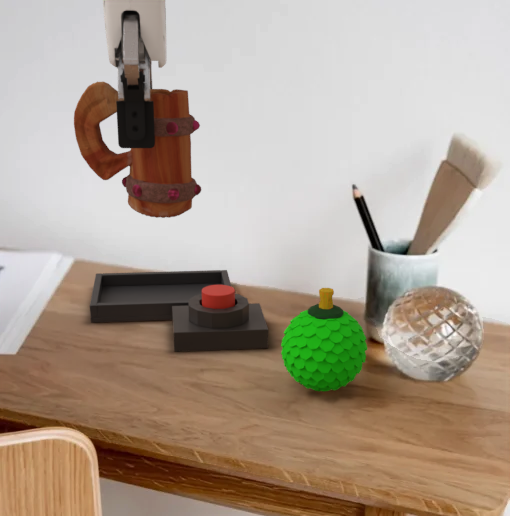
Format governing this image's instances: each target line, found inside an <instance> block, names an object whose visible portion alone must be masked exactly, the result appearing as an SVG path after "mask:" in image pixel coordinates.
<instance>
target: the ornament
mask: <svg viewBox="0 0 510 516" xmlns="http://www.w3.org/2000/svg"><path fill="white" fill-rule="evenodd" d="M334 294H335V291H334V288H331V287H321V288H320V289H318V295H319V302H318V303H316V304H314V305H312V306H310V307H309V308H308V309H306V310H303V311H301V312H299V314H298V315H296V316H294V317H293V318H292V319H291V320H290V321H289V323H290V324H288V326H287V327H286V328H285V330H284V331H283V335H284V336H283V337H282V338H281V343H280V344H281V345H280V347H281V352H280V354H281V357H282V358H281V359H282V360H283V366H284V367H285V369H286V371H287V372H288V373H289V375H290V377H291V378H293V380H294V381H295V382H296V383H299V384H300V385H301V386H303V387H304V388H306V389H307V390H309V389H311V390H313V391H315V392H329V391H337V390H339V389H340V388H342V387H344V388H345V387H346V386H347V385H348V384H349V383H351V382H353V381H355V378H356V376H357V375H359V374H360V373H361V371H362V369H363V364H364V363H365V364H366V358H367V354H366V351H368V344H367V342H366V341H367V337H366V335H365V331H364V330H363V327H362V325H360V323H359V321H358V320H356V318H354V317H353V316H352V315H351V314H349V312H348V311H346V310H344V309H342V308H341V307H340V306H338V305H336V304H334V301H333V296H334Z"/></svg>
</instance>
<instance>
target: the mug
mask: <svg viewBox="0 0 510 516" xmlns="http://www.w3.org/2000/svg"><path fill="white" fill-rule="evenodd" d="M77 101H78V102H77V104H76V106H75V109H74V111H73V112H74V114H73V127H74V135H75V140H76V143H77V146H78V149H79V152H80V155H81V156H82V158H83V160H84V161H85V163H86V164H87V165H88V167H89V168H90V169H91V170H92V171H93V172H94V173H95V174H96V176H98V178H100V179H101V180H103V181H109V180H110V179H112V178H113V177H114V176H116V175H117V174H119V173H120V172H121V171H123V170H124V169H126V168H128V167H129V173H128V175H126V176H124V177H123V178H122V179H121V184H122V186H123V187H124V188H125V191H126V193H127V205H128V206H129V207H130V208H131V209H132V210H133V211H135V212H137V213H138V214H141V215H142V216H143V215H144V216H146V217H151V218H157V219H158V218H161V219H165V218H175V217H178V216H180V215H182V214H184V213H186V212H188V211H190V210H191V209H192V207H193V200H194V198H195V197H196V196H199V194H200V193H201V192H202V187H201V185H200V184H198V183H197V181H196V179H195V178H194V177H192V139H191V135H193V133H194V132H196V131H198V130H200V126H201V125H200V122H199V121H198V120H196V119H195V116H193V115H192V114H191V113H190V104H189V91H188V90H186V89H172V90H171V91H170V90H169V89H166V88H152V89H150V101H153V103H154V133H155V145H154V147H153V148H130V150H128V151H125V152H121V153H116V152H114V151H113V150H111V149H110V148H109V147H108V145H107V144H106V142H105V141H104V139H103V135H102V130H101V126H100V124H101V123H102V122H104V121H105V120H107V119H108V118H110V117H112V116H113V115H115V114H117V106H116V101H119V100H118V89H116V88H115V87H113V86H112V85H111V84H109V83H108V82H105V81H96V82H93V83H92V84H89V85H88V86H87V88H86V89H85V90H84V91H83V93H82V94H81V96H80V98H79V100H77Z"/></svg>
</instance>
